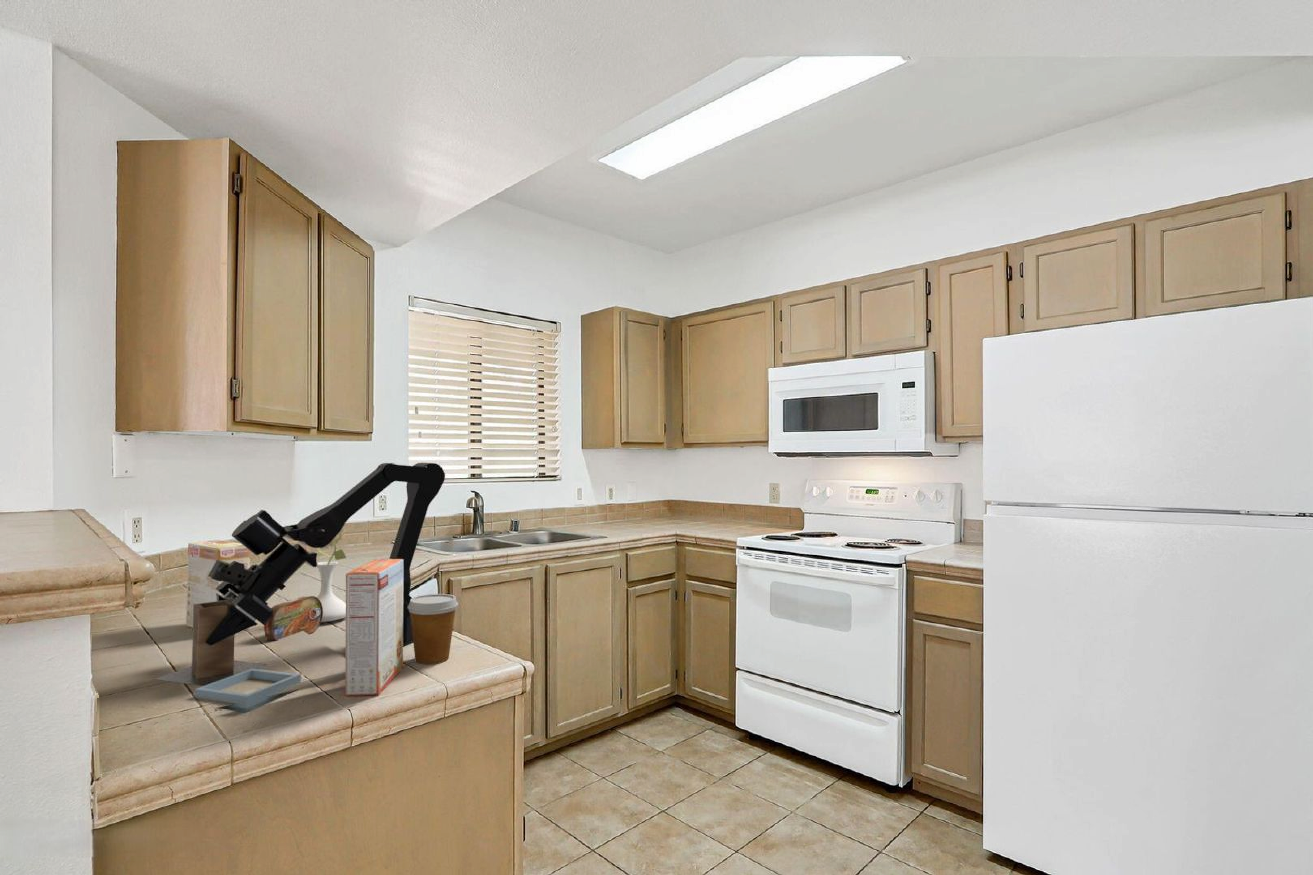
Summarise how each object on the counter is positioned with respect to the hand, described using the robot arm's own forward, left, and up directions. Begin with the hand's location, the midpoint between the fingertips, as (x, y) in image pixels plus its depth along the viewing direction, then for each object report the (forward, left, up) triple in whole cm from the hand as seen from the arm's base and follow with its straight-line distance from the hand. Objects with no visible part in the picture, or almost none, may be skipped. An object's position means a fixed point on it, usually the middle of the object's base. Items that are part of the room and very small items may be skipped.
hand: (204, 640), depth 116 cm
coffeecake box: (+29, -27, -7) cm, 41 cm away
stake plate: (-1, -1, -7) cm, 7 cm away
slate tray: (-15, +4, -7) cm, 17 cm away
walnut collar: (-1, -1, -6) cm, 6 cm away
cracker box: (-30, -8, -7) cm, 32 cm away
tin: (+6, -26, -7) cm, 28 cm away
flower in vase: (+10, -40, -7) cm, 42 cm away
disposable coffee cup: (-32, -22, -7) cm, 39 cm away
